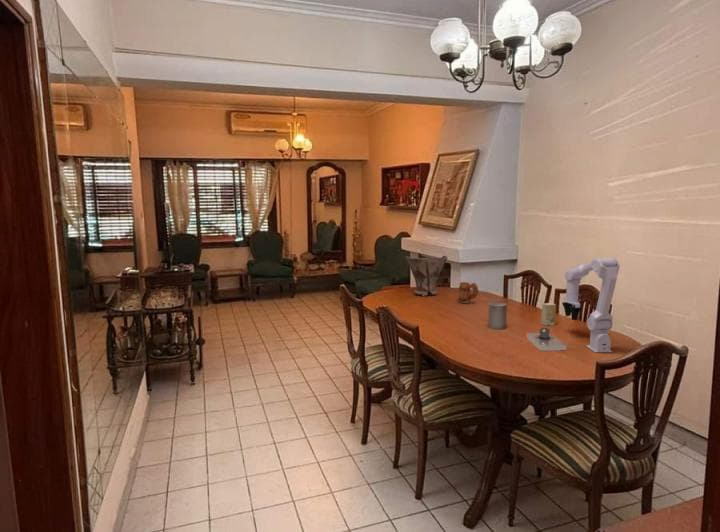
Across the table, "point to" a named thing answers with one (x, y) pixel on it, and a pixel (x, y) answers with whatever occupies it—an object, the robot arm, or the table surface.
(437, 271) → the vessel
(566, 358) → the table surface
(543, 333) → the bushing
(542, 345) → the plate
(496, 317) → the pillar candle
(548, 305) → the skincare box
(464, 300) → the mug
